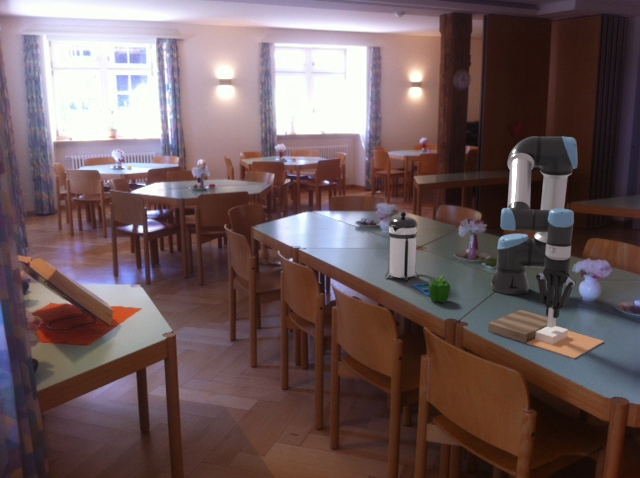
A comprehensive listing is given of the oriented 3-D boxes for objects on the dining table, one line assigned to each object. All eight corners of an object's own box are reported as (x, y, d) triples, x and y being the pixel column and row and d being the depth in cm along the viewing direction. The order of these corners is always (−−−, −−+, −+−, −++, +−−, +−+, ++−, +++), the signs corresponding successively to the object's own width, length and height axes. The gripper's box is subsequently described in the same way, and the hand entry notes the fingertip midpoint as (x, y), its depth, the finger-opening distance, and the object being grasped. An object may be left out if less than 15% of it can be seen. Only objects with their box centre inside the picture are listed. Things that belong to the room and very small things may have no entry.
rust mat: (557, 328, 207) (557, 327, 206) (603, 342, 195) (603, 341, 195) (526, 343, 194) (526, 342, 194) (574, 359, 182) (574, 357, 182)
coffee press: (424, 282, 260) (426, 214, 254) (388, 283, 259) (389, 215, 252) (415, 271, 277) (417, 207, 271) (381, 272, 276) (382, 208, 269)
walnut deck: (519, 317, 217) (520, 309, 217) (556, 328, 207) (556, 320, 206) (488, 331, 205) (488, 322, 204) (525, 343, 194) (525, 334, 194)
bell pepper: (438, 305, 230) (439, 281, 228) (424, 300, 237) (425, 275, 235) (454, 302, 234) (455, 277, 232) (440, 296, 241) (441, 272, 239)
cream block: (550, 331, 203) (551, 324, 202) (567, 336, 198) (568, 329, 198) (535, 338, 197) (535, 331, 196) (552, 344, 192) (552, 337, 192)
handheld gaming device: (427, 294, 241) (412, 283, 255) (427, 297, 242) (412, 286, 256) (446, 292, 244) (429, 282, 258) (445, 295, 244) (429, 284, 258)
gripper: (532, 255, 194) (527, 323, 199) (571, 263, 185) (564, 334, 190) (544, 251, 199) (539, 318, 204) (582, 259, 189) (575, 328, 195)
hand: (551, 326), depth 197 cm, fingers closed
